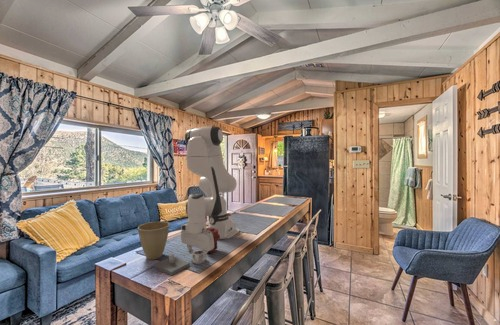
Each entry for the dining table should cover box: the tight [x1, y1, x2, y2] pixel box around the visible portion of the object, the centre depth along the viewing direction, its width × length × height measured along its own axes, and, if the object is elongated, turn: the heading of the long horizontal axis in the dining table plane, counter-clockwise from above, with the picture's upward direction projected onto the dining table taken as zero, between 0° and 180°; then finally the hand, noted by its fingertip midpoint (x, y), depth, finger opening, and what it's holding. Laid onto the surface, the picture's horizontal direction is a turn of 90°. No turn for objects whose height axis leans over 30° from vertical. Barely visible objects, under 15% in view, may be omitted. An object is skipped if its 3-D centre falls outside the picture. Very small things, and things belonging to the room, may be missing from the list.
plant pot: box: [137, 221, 170, 260], centre depth 114 cm, size 15×15×16 cm
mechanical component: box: [206, 226, 221, 254], centre depth 119 cm, size 12×10×10 cm
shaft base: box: [153, 253, 191, 276], centre depth 102 cm, size 10×13×6 cm
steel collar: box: [191, 249, 207, 265], centre depth 108 cm, size 6×6×4 cm
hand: (197, 255), depth 108 cm, fingers open, 8 cm apart
